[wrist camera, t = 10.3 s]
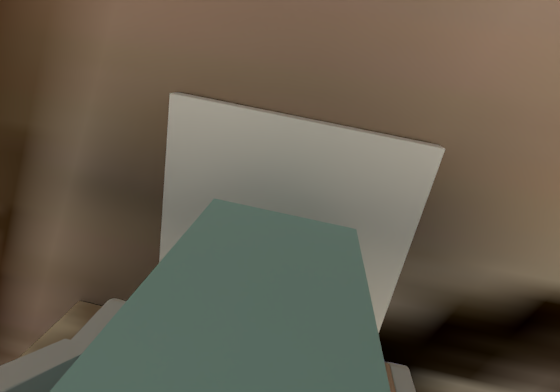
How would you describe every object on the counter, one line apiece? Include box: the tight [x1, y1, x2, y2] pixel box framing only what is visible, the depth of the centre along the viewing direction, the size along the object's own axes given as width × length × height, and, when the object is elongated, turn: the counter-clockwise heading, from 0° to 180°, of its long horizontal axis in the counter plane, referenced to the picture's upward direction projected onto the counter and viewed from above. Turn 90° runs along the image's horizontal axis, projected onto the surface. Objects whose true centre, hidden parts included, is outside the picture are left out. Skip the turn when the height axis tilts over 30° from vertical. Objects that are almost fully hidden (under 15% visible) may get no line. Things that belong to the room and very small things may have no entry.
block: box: [50, 198, 391, 392], centre depth 8 cm, size 5×5×9 cm
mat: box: [159, 92, 445, 333], centre depth 16 cm, size 11×11×1 cm
